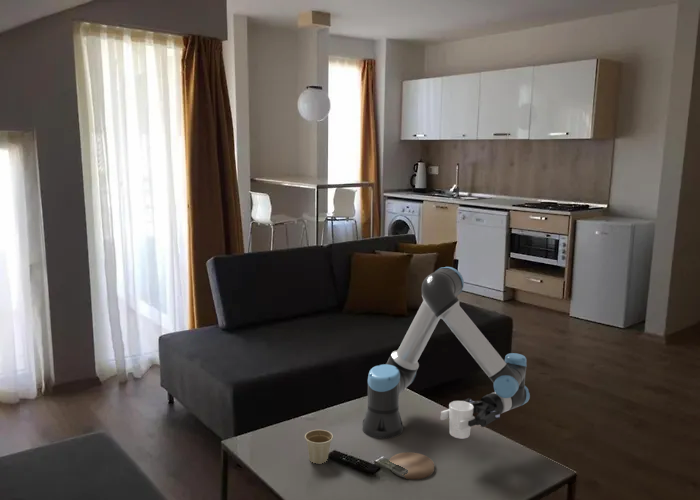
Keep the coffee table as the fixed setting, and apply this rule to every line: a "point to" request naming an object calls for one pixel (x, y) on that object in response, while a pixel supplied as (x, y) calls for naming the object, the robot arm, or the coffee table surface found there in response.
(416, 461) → the walnut coaster
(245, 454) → the coffee table surface
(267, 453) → the coffee table surface
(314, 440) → the flower pot
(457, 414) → the white cup
